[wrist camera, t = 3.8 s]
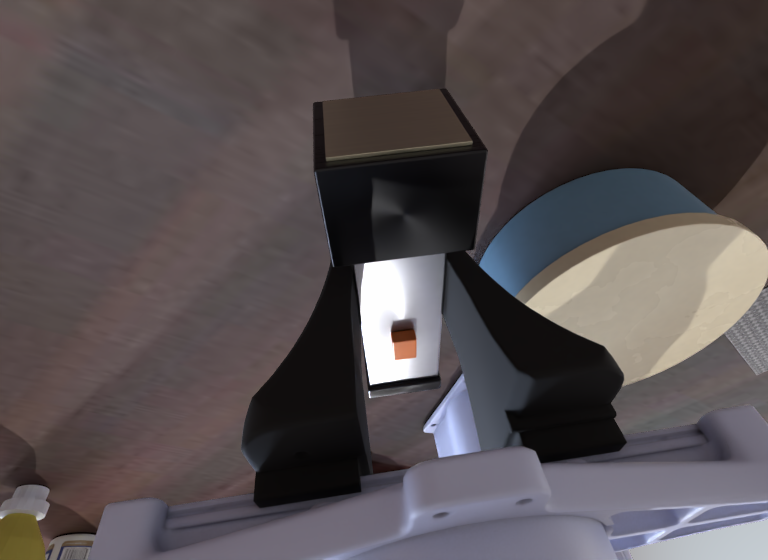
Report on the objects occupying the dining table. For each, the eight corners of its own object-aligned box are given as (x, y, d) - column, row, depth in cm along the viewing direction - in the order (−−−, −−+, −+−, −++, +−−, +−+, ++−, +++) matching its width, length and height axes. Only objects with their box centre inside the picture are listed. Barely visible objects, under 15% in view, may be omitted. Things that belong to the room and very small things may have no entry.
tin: (597, 340, 30) (635, 400, 27) (436, 324, 26) (456, 392, 23) (750, 189, 22) (836, 249, 18) (547, 134, 18) (606, 196, 14)
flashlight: (434, 331, 20) (454, 404, 17) (354, 342, 20) (362, 417, 17) (447, 83, 12) (490, 145, 9) (312, 98, 12) (312, 165, 9)
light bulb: (38, 508, 38) (-24, 651, 31) (-37, 488, 33) (-131, 651, 26) (96, 490, 37) (46, 634, 30) (27, 467, 32) (-51, 630, 25)
